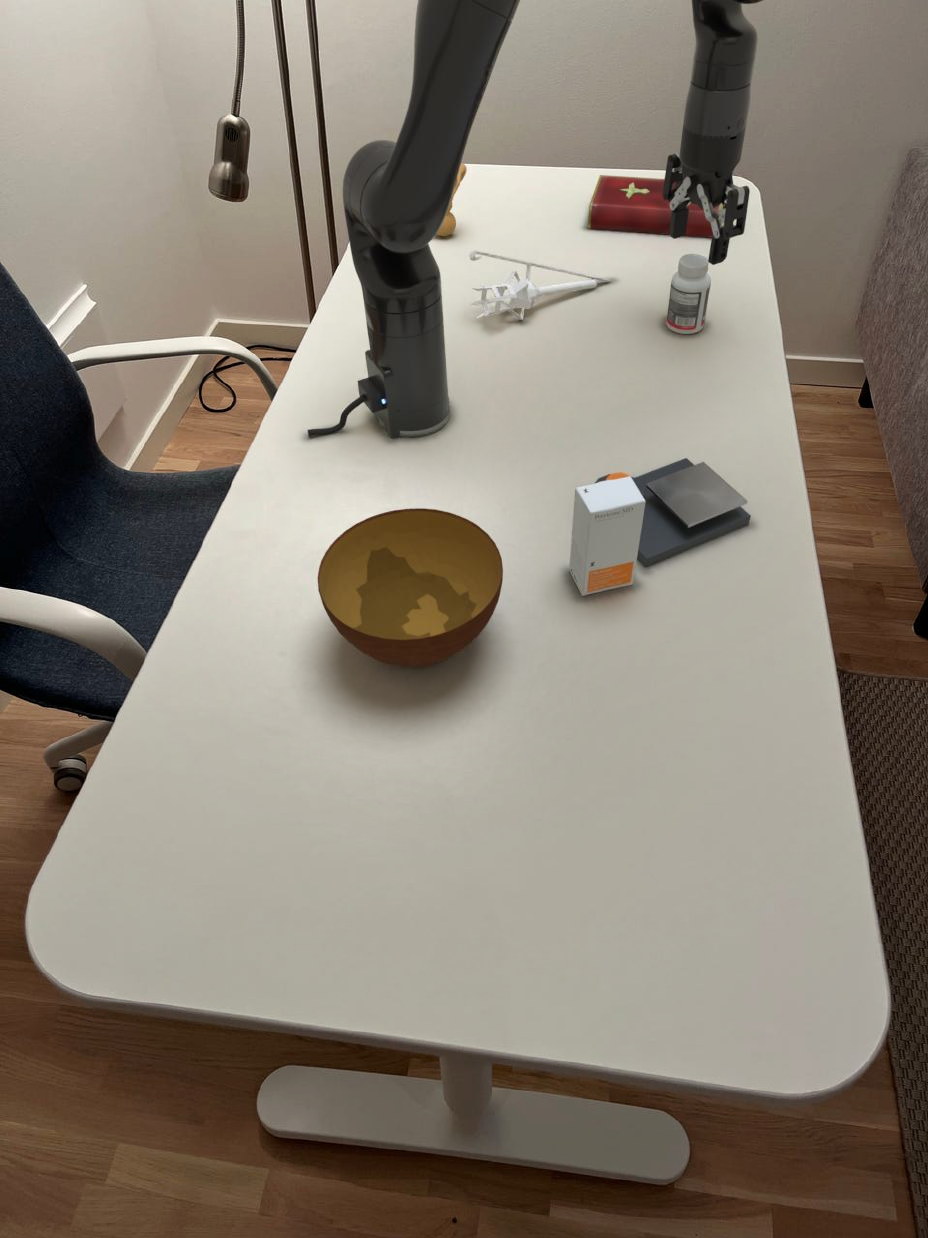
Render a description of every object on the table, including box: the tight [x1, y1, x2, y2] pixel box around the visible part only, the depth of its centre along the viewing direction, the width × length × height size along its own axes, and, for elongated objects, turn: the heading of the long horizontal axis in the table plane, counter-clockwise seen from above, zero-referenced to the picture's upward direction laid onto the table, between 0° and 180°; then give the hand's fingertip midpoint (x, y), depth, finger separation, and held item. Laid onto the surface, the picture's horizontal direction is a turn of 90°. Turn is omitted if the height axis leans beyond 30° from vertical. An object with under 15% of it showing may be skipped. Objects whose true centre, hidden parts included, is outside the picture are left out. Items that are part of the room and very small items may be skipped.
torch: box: [468, 249, 612, 321], centre depth 137 cm, size 6×9×25 cm
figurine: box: [436, 162, 468, 237], centre depth 151 cm, size 8×6×12 cm
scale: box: [593, 457, 752, 568], centre depth 106 cm, size 14×12×3 cm
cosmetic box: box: [568, 475, 646, 597], centre depth 96 cm, size 6×4×12 cm
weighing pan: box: [646, 461, 749, 528], centre depth 104 cm, size 8×8×1 cm
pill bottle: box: [665, 253, 712, 335], centre depth 130 cm, size 5×5×10 cm
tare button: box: [606, 472, 630, 480], centre depth 105 cm, size 3×3×2 cm
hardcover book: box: [587, 174, 723, 238], centre depth 155 cm, size 12×21×4 cm, turn 76°
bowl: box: [317, 507, 504, 668], centre depth 92 cm, size 18×18×10 cm
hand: (696, 249), depth 125 cm, fingers open, 8 cm apart
